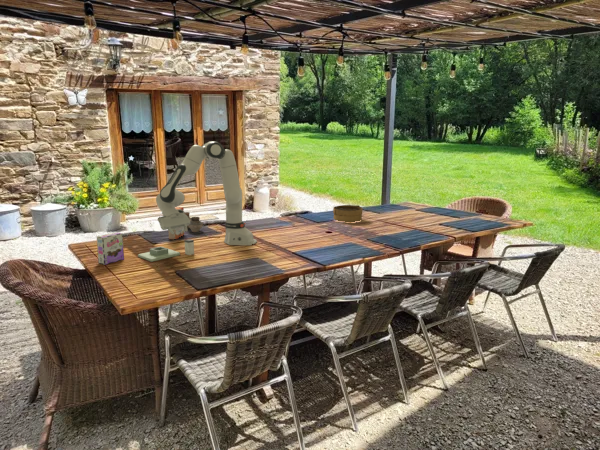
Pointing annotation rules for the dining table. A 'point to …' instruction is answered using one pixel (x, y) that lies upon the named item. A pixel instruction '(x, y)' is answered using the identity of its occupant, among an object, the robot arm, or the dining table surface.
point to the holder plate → (158, 254)
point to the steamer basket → (347, 213)
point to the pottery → (194, 223)
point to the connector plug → (189, 247)
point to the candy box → (110, 248)
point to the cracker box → (177, 229)
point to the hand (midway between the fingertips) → (180, 232)
